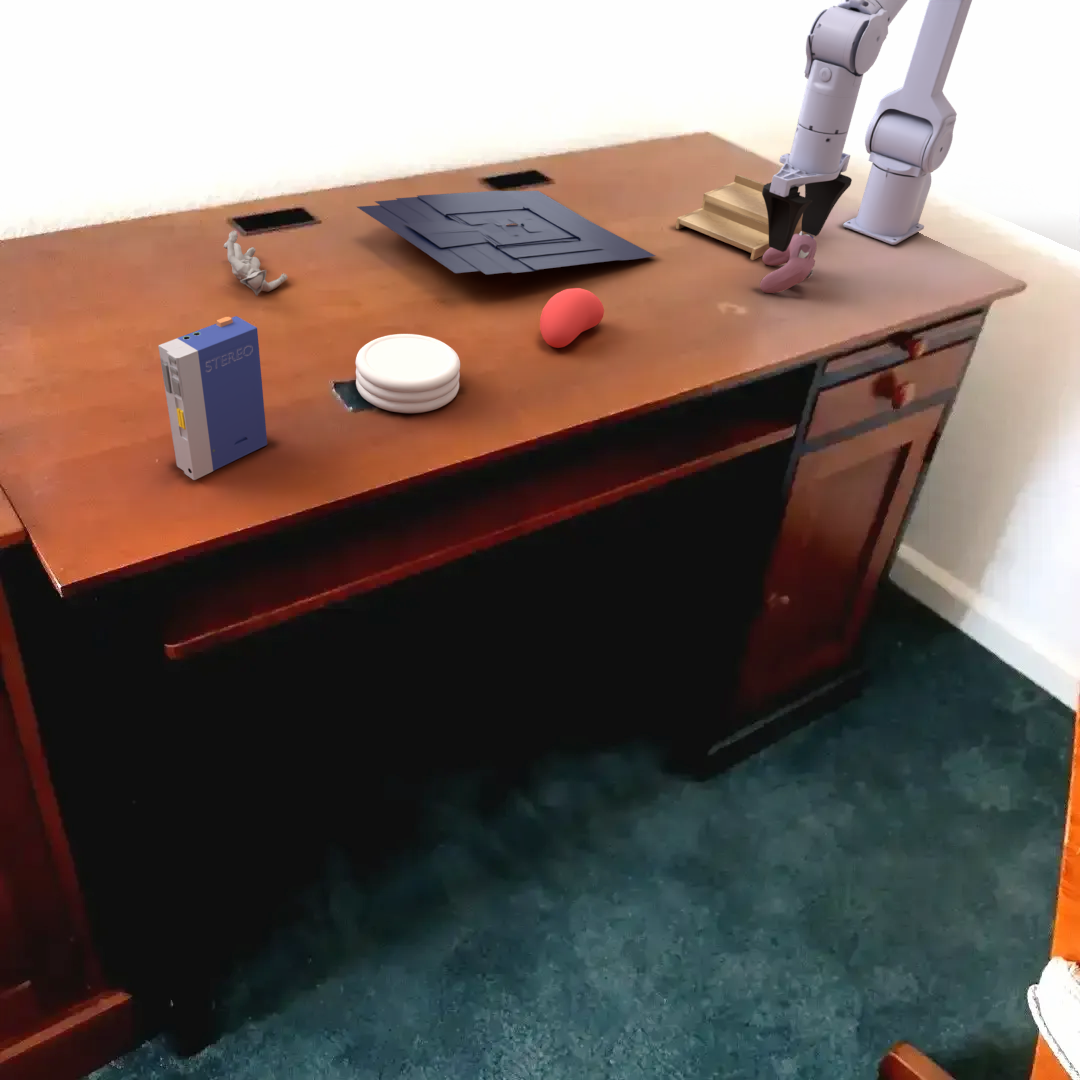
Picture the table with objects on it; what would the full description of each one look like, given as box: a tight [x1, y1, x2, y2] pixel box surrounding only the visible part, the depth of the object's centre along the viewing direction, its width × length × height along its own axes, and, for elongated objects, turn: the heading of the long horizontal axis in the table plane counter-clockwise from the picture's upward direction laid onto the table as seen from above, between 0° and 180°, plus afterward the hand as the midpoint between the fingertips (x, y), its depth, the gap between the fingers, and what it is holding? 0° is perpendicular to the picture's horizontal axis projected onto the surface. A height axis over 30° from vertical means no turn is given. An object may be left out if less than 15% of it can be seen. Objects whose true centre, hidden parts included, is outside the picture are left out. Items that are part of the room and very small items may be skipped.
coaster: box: [355, 333, 461, 414], centre depth 103 cm, size 10×10×4 cm
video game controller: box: [759, 231, 818, 294], centre depth 130 cm, size 10×5×7 cm, turn 168°
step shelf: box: [675, 173, 808, 261], centre depth 141 cm, size 14×12×4 cm
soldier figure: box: [223, 230, 289, 296], centre depth 117 cm, size 8×5×12 cm
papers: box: [356, 190, 656, 275], centre depth 131 cm, size 24×30×4 cm
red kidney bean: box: [539, 287, 605, 349], centre depth 114 cm, size 5×9×6 cm
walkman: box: [157, 315, 268, 481], centre depth 89 cm, size 8×3×12 cm, turn 140°
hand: (793, 240), depth 128 cm, fingers open, 7 cm apart
